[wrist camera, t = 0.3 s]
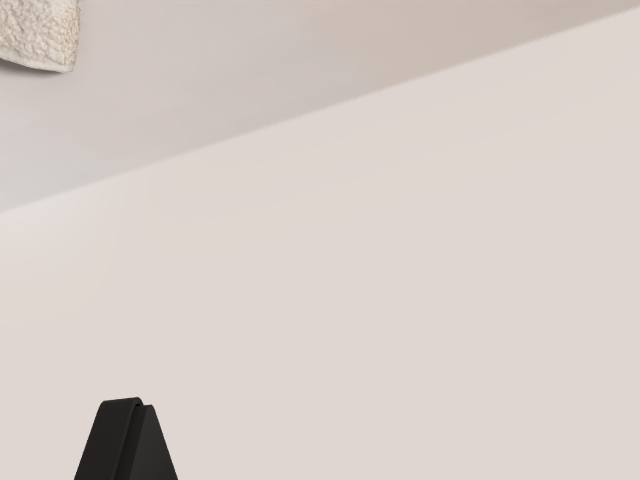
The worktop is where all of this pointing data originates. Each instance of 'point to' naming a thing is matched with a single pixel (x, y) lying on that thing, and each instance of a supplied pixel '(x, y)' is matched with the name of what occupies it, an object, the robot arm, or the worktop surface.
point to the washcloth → (40, 33)
